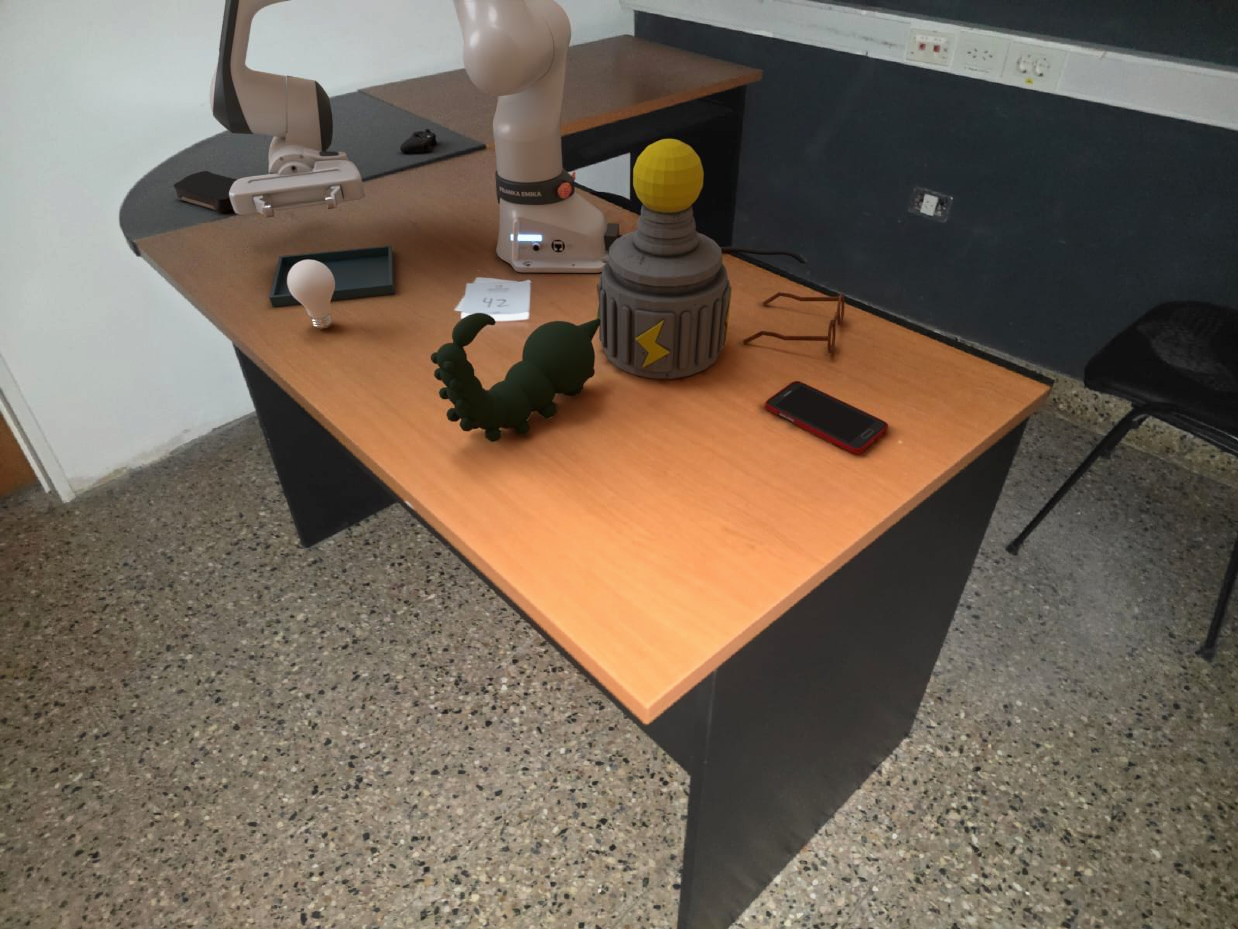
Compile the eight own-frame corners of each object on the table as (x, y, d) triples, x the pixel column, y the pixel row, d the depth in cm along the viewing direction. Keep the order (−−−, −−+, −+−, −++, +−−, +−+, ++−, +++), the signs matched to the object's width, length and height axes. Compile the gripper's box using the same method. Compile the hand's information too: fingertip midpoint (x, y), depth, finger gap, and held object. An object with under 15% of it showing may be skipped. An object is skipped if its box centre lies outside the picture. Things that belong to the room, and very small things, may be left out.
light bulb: (327, 312, 126) (309, 247, 118) (355, 325, 123) (338, 259, 115) (292, 330, 121) (271, 264, 114) (320, 343, 118) (300, 276, 111)
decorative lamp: (719, 390, 109) (740, 172, 89) (586, 376, 112) (578, 162, 92) (729, 321, 123) (750, 121, 104) (611, 311, 126) (609, 113, 106)
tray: (393, 253, 141) (391, 245, 140) (394, 293, 130) (392, 284, 129) (281, 265, 138) (279, 255, 137) (272, 306, 127) (269, 297, 126)
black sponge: (260, 201, 160) (255, 183, 157) (225, 216, 154) (219, 197, 152) (208, 186, 166) (202, 169, 164) (172, 200, 161) (166, 182, 158)
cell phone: (857, 457, 98) (859, 451, 97) (761, 408, 105) (762, 402, 105) (889, 429, 102) (891, 424, 101) (794, 384, 110) (795, 378, 109)
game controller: (411, 135, 187) (425, 117, 184) (429, 152, 189) (443, 135, 186) (397, 149, 180) (411, 131, 177) (415, 167, 182) (430, 149, 179)
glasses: (830, 361, 114) (836, 331, 111) (742, 344, 118) (745, 314, 115) (844, 318, 124) (850, 289, 121) (762, 303, 127) (766, 275, 124)
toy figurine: (488, 479, 98) (628, 382, 109) (456, 354, 84) (619, 260, 96) (443, 445, 103) (582, 356, 114) (406, 323, 89) (567, 236, 101)
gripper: (224, 166, 127) (220, 197, 117) (354, 150, 132) (362, 178, 122) (237, 204, 131) (235, 237, 121) (363, 187, 136) (370, 218, 126)
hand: (299, 208), depth 121 cm, fingers open, 8 cm apart
